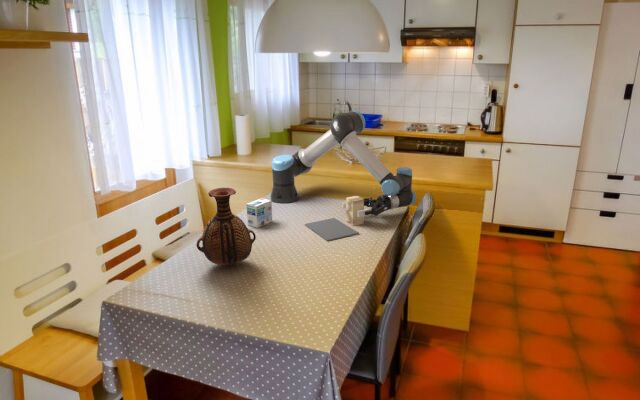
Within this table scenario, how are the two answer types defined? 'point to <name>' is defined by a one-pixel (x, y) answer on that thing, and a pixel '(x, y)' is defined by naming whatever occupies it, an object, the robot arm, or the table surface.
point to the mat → (331, 229)
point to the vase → (225, 233)
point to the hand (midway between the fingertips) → (350, 209)
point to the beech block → (354, 210)
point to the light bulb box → (259, 212)
